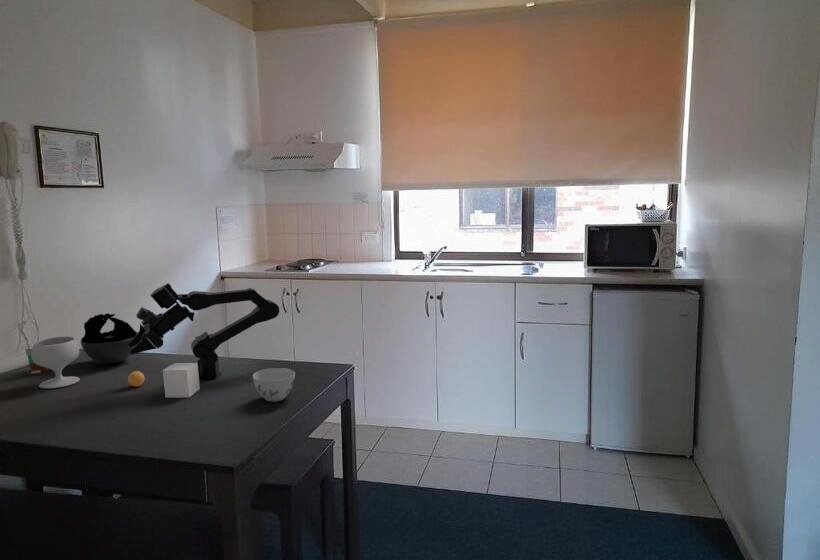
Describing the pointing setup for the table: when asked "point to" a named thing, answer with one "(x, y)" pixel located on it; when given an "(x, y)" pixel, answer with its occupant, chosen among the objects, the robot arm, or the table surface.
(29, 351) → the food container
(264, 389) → the teacup
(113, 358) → the bowl of black rocks
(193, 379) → the white foam cube
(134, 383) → the ball
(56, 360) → the chalice
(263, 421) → the table surface
